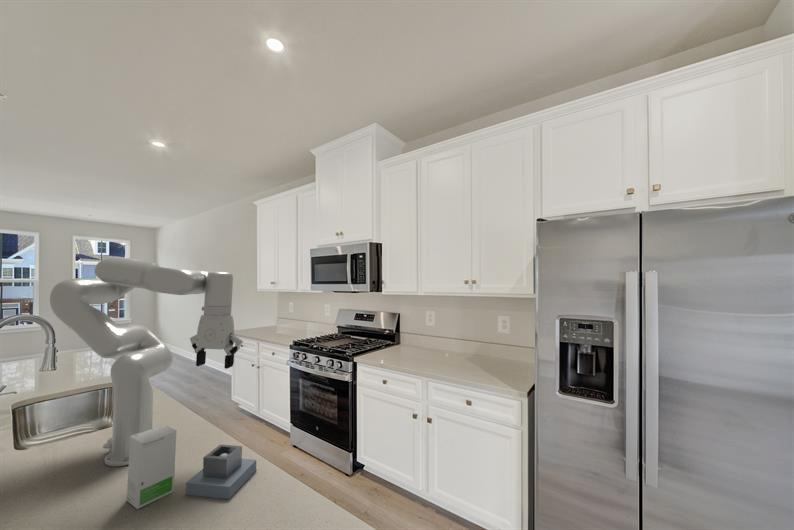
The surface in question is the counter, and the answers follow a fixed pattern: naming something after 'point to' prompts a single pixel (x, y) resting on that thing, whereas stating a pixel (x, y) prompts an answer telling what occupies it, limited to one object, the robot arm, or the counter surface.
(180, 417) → the counter surface
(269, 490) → the counter surface
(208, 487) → the shaft block
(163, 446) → the skincare box
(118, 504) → the counter surface
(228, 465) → the grey open box
